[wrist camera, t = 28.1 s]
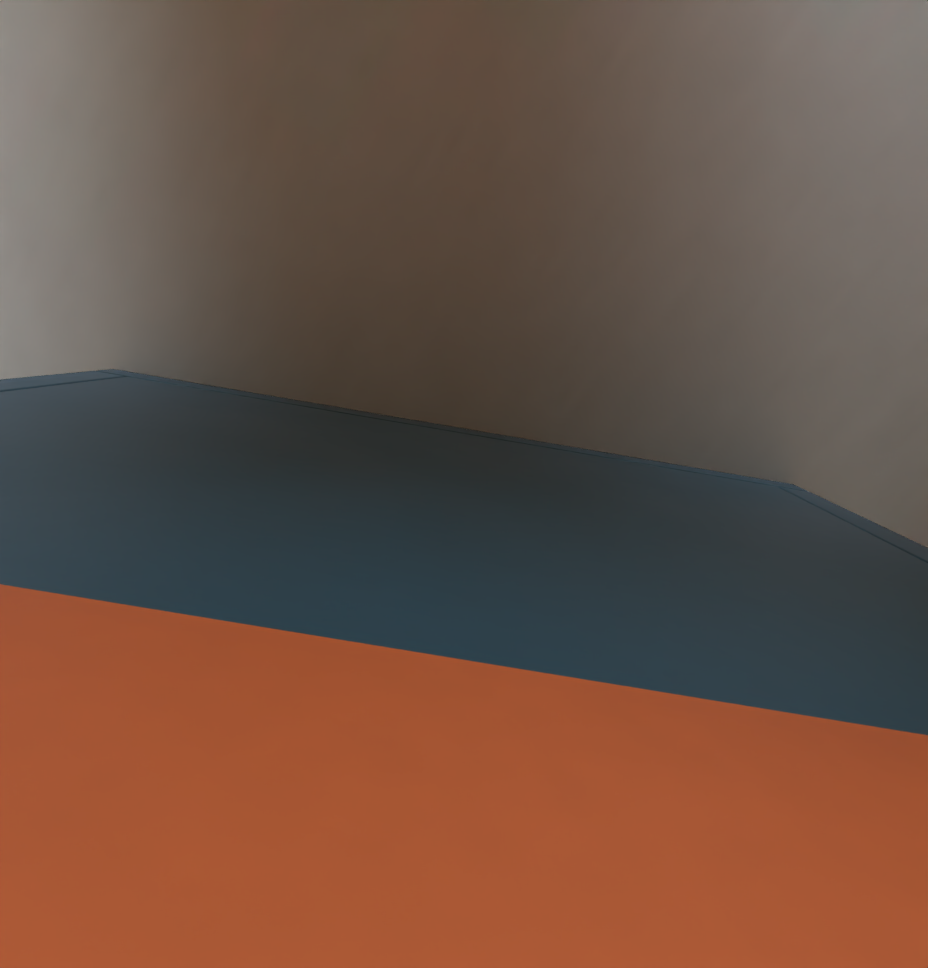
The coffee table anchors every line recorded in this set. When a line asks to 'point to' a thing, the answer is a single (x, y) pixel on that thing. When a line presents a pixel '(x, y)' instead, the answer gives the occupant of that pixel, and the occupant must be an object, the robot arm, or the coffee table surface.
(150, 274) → the coffee table surface
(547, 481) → the container
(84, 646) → the lid
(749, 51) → the coffee table surface
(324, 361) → the coffee table surface
